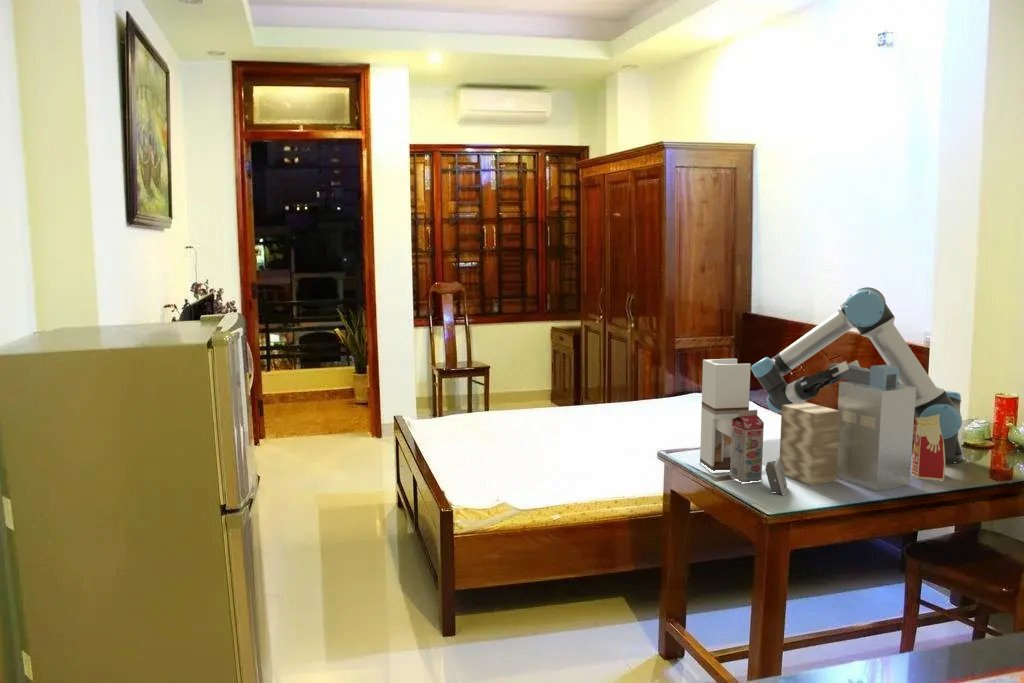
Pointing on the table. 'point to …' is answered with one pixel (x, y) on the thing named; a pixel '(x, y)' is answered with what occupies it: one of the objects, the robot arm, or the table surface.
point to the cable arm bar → (871, 375)
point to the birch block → (809, 442)
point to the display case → (721, 408)
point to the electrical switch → (776, 476)
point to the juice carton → (747, 446)
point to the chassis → (875, 434)
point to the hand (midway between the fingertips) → (852, 364)
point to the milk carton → (928, 450)
